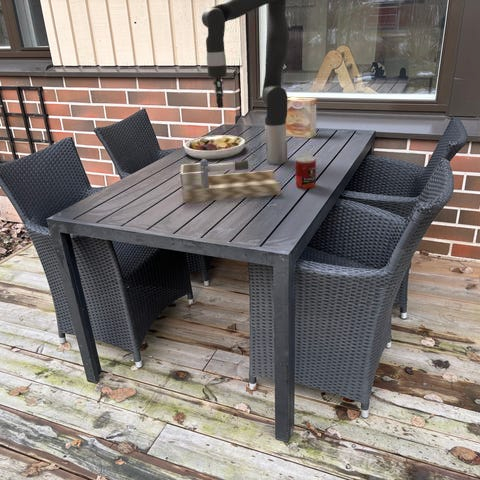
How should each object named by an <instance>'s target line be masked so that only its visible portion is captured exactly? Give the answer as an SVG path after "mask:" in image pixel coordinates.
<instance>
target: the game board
mask: <svg viewBox="0 0 480 480" xmlns="http://www.w3.org/2000/svg"><path fill="white" fill-rule="evenodd" d="M179 175H180V182H181V183H180V184H181V194H182V196H181V197H182V203H183V204H184V203H185V204H186V203H198V202H199V203H200V202H209V201H219V200H231V199H242V198H243V199H245V198H253V197H254V198H256V197H264V196H276V195H278V196H279V195H281V190H282V189H281V181H276V179H275V169H273V170H272V169H271V170H270V169H269V170H259V171H257V170H256V171H248V172H234V173H224V174H223V173H222V174H210V175H208V181H209V188H206V189H205V183H204V173H203V171H202V166H201V164H200V162H197V163H187V164H186V163H185V164H180V171H179Z"/></svg>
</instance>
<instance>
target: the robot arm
mask: <svg viewBox="0 0 480 480" xmlns="http://www.w3.org/2000/svg"><path fill="white" fill-rule="evenodd" d="M286 3H287V0H227V1H225V2H223V3H219V4H217V5H214V6H211V7H208V8H207V9H205V10H204V11H203V13H202V15H201V22H202V24H203V26H205V27H206V28H207V37H206V38H205V45H206V46H205V47H206V64H207V65H206V67H207V77H209V78H211V79H213V81H212V86H213V91H214V94H215V100H216V104H217V105H216V107H217V108H218V109H221V108H223V107H224V102H223V101H224V100H223V98H224V94H223V93H224V80H222V78H223V77H227V76H228V75H227V74H228V72H227V71H228V70H227V59H226V51H225V40H224V37H225V30H226V22H228V21H232V20H236V19H238V18H240V17H243V16H245V15H246V14H249V13H251V12H253V11H255V10H256V9H260V7H263V6H266V5H267V4H268V13H267V30H266V31H267V32H266V43H265V71H264V79H263V86H262V93H261V97H262V100H263V103H264V104H265V105H266V116H265V118H264V132H265V134H264V138H265V158H266V161H265V162H266V163H267V164H270V165H280V164H284V163H288V158H289V156H288V140H287V136H286V118H287V98H288V93H287V91H286V90H285V88H283V87H282V74H283V70H284V66H285V63H286V60H287V57H288V53H289V42H290V31H289V26H288V22H287V18H286Z"/></svg>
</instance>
